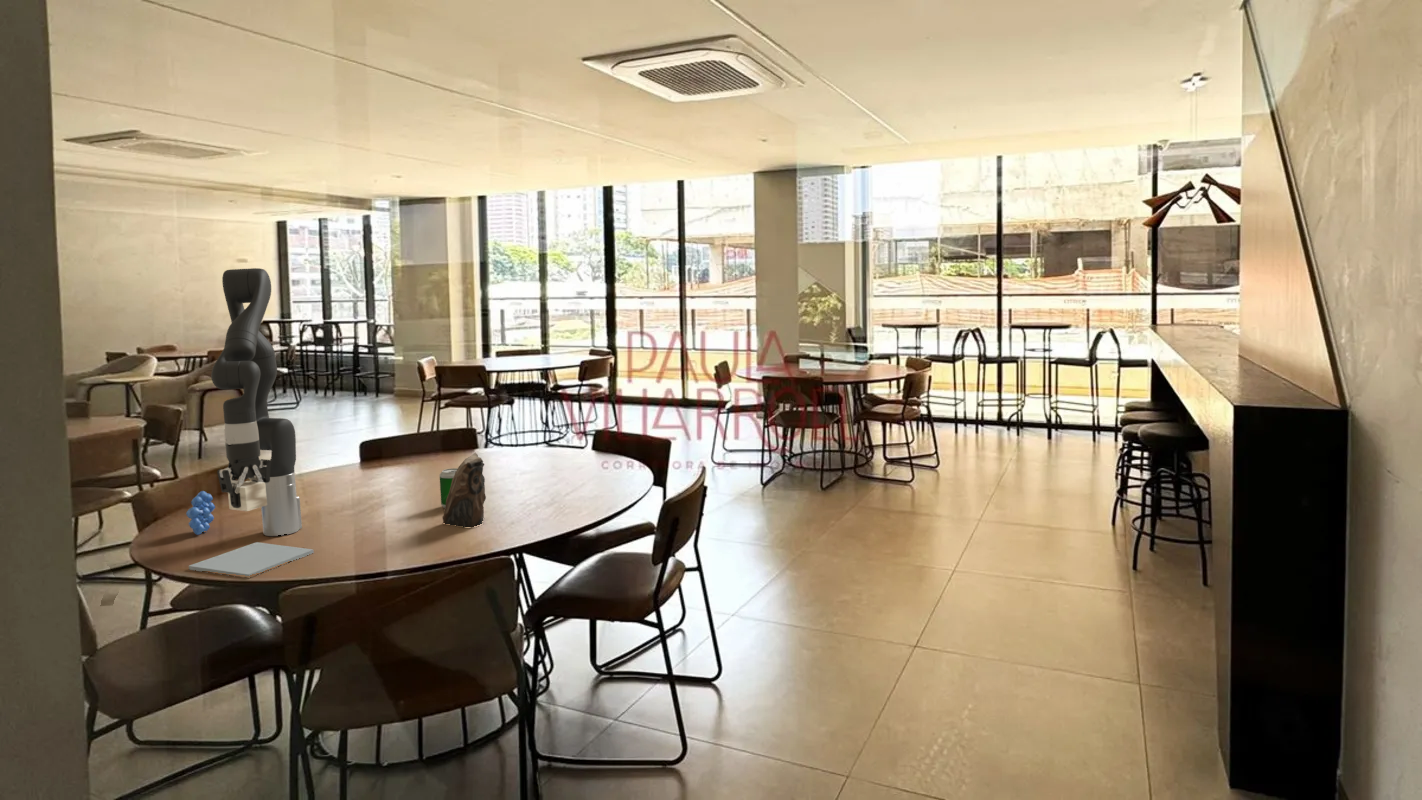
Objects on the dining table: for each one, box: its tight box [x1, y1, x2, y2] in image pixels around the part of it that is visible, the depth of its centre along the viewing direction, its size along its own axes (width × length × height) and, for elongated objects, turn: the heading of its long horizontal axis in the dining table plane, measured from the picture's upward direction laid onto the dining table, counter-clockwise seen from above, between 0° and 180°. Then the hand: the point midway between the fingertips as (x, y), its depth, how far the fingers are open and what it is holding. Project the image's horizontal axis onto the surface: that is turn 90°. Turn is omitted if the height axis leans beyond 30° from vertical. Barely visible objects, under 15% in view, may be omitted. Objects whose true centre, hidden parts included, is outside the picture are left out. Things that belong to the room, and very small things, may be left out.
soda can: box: [439, 467, 458, 509], centre depth 262 cm, size 8×8×12 cm
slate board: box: [188, 541, 315, 576], centre depth 213 cm, size 20×20×1 cm
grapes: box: [185, 490, 216, 536], centre depth 237 cm, size 12×7×12 cm, turn 5°
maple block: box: [227, 480, 267, 512], centre depth 211 cm, size 6×6×6 cm
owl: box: [442, 452, 487, 528], centre depth 244 cm, size 13×13×20 cm
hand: (247, 503), depth 211 cm, fingers closed on maple block, 6 cm apart
